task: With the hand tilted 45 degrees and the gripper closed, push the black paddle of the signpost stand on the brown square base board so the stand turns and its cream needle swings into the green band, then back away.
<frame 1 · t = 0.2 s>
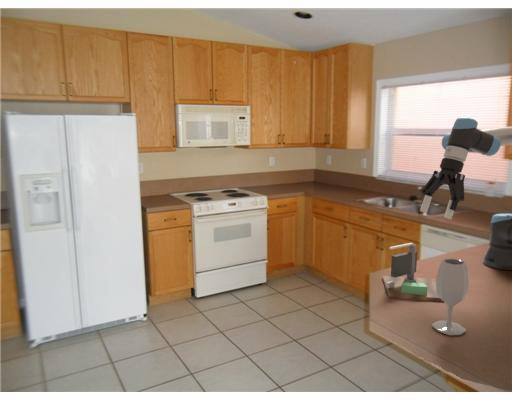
hand: (434, 215, 151), 28 cm above the countertop, tool tilted 20°, fingers open, 13 cm apart
wineglass: (448, 330, 122), on the countertop
signpost stand: (402, 264, 154), point 9 cm above the countertop, hinge at 0.0°
gauge marks: (409, 284, 158), resting on brown square base board
brown square base board: (412, 289, 153), on the countertop
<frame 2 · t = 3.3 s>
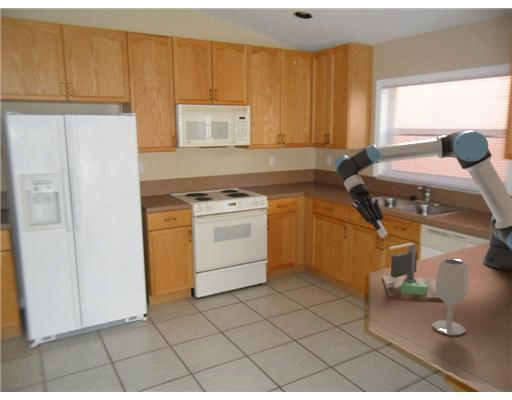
hand: (384, 235, 160), 18 cm above the countertop, tool tilted 45°, fingers closed
nothing on the countertop moved.
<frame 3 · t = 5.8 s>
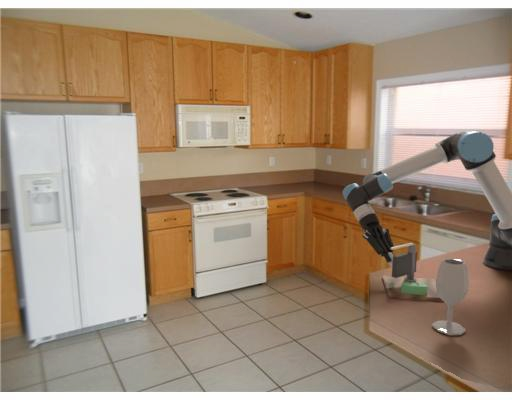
hand: (396, 268, 155), 7 cm above the countertop, tool tilted 45°, fingers closed
signpost stand: (403, 264, 154), point 9 cm above the countertop, hinge at 2.9°, touching gripper
everything else where it was.
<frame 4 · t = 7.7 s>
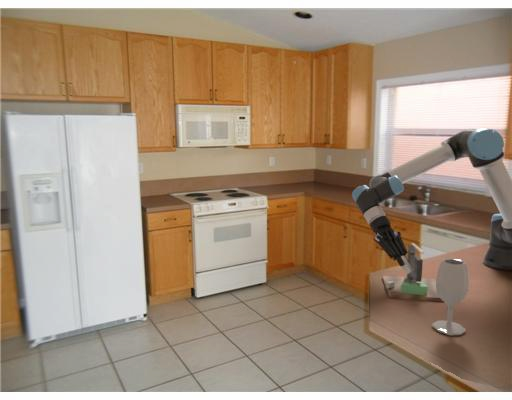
hand: (410, 272, 150), 7 cm above the countertop, tool tilted 45°, fingers closed
signpost stand: (415, 266, 152), point 9 cm above the countertop, hinge at 54.5°, touching gripper
everything else where it was.
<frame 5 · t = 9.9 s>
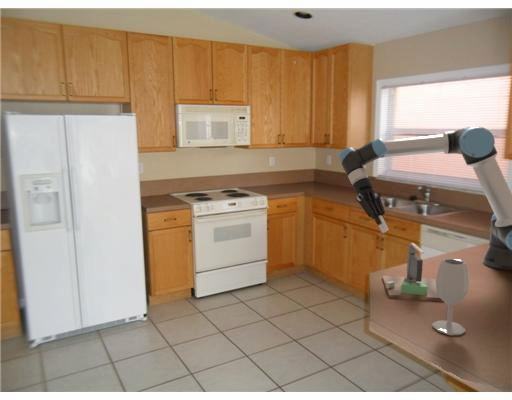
hand: (385, 231, 164), 19 cm above the countertop, tool tilted 40°, fingers closed
signpost stand: (415, 266, 152), point 9 cm above the countertop, hinge at 54.6°
everything else where it was.
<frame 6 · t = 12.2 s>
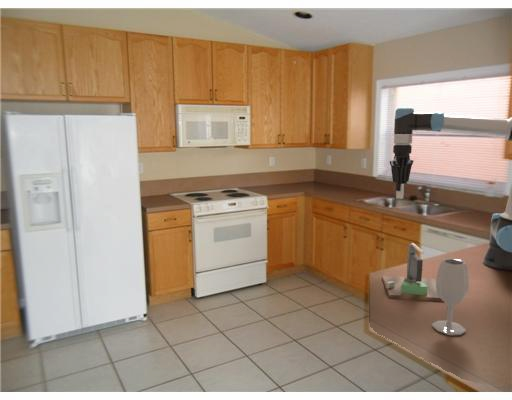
hand: (399, 198, 181), 29 cm above the countertop, tool pointing down, fingers closed
nothing on the countertop moved.
at the end: signpost stand at +55° (first picture: +0°); the gripper is holding nothing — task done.
